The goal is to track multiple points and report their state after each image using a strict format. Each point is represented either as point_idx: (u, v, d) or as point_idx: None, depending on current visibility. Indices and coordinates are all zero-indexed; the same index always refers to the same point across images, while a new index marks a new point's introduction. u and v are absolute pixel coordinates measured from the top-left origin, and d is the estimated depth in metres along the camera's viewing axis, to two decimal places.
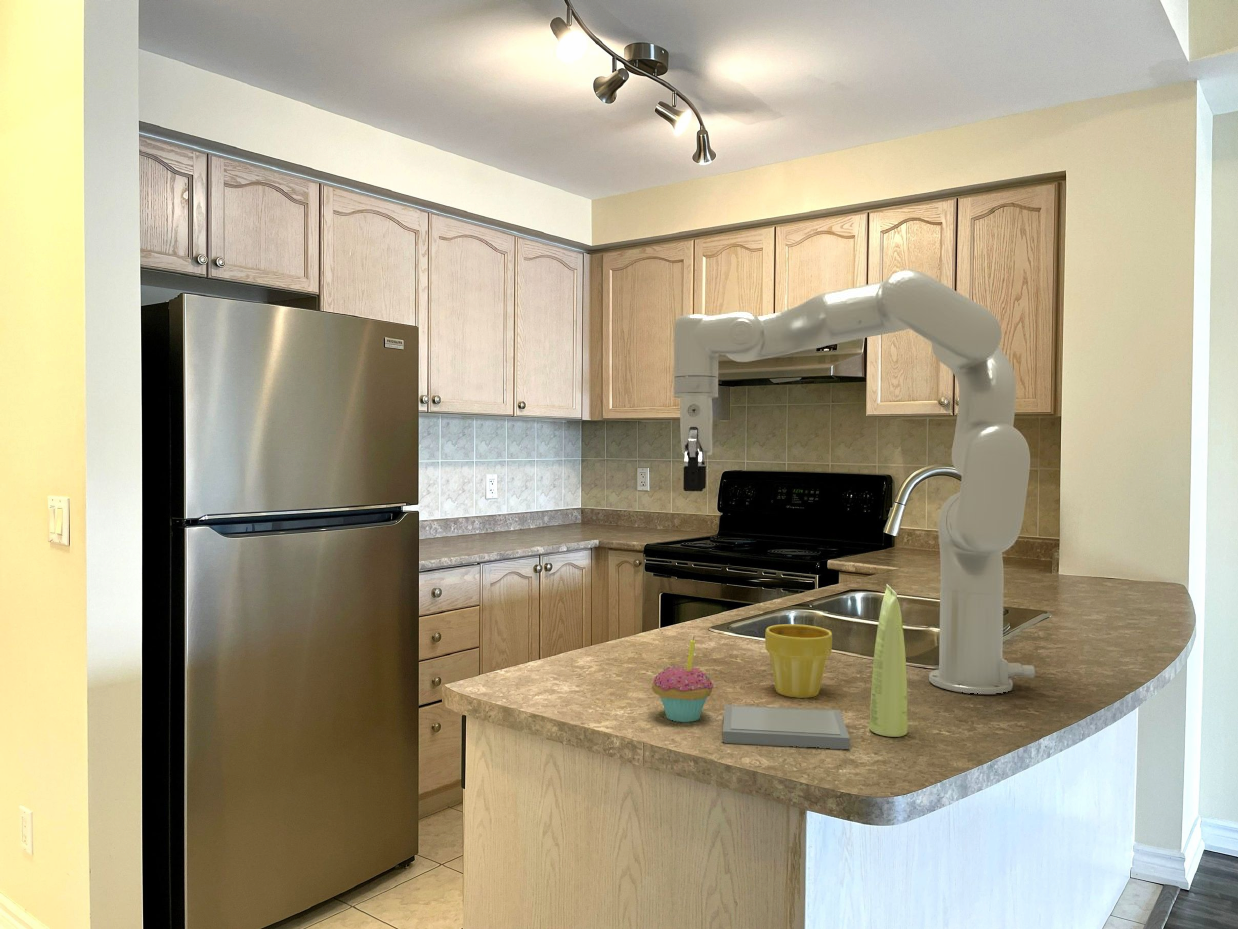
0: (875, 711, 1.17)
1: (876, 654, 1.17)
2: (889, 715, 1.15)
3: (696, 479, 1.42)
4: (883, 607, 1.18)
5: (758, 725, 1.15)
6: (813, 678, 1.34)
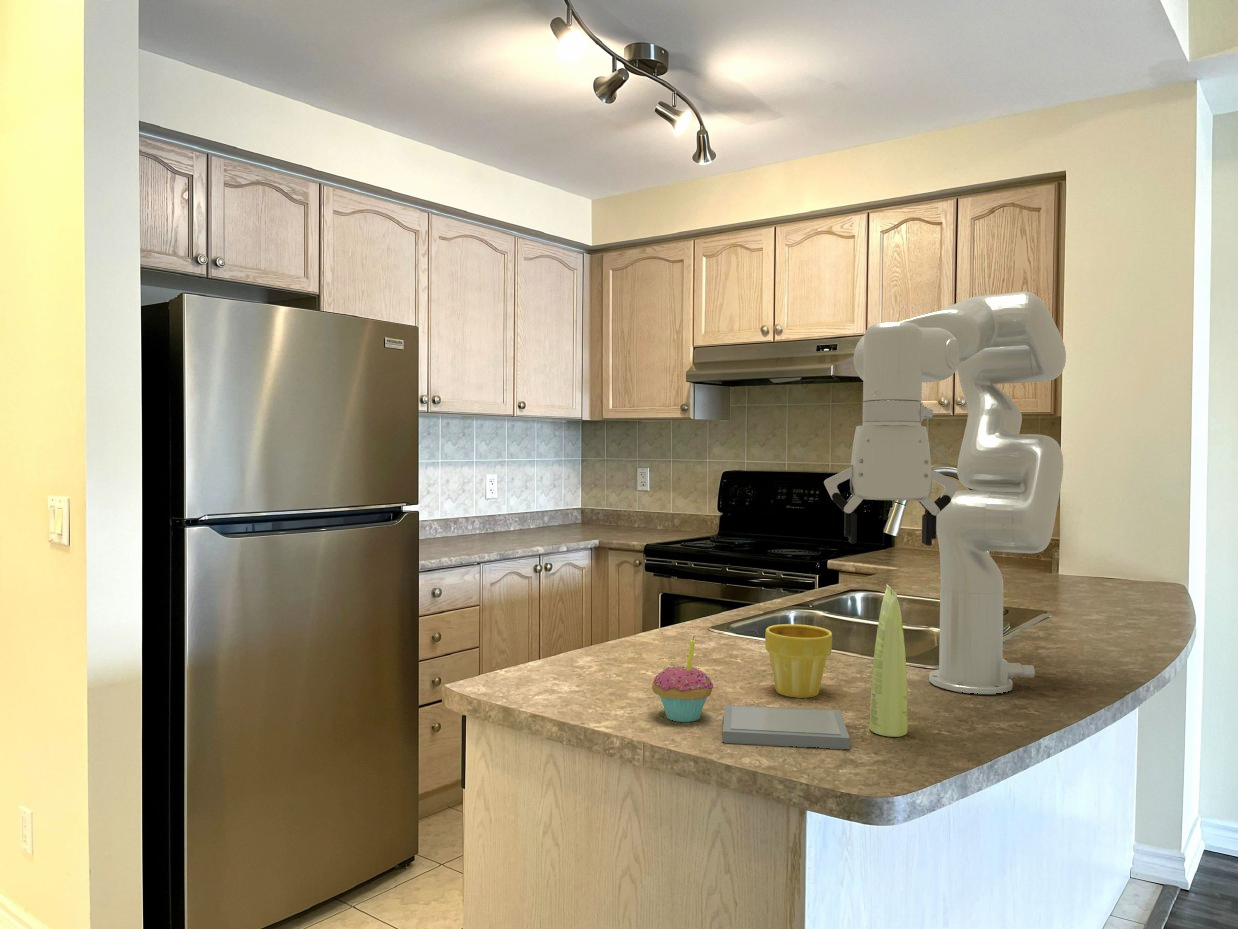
0: (875, 711, 1.17)
1: (876, 654, 1.17)
2: (889, 715, 1.15)
3: None
4: (883, 607, 1.18)
5: (758, 725, 1.15)
6: (813, 678, 1.34)
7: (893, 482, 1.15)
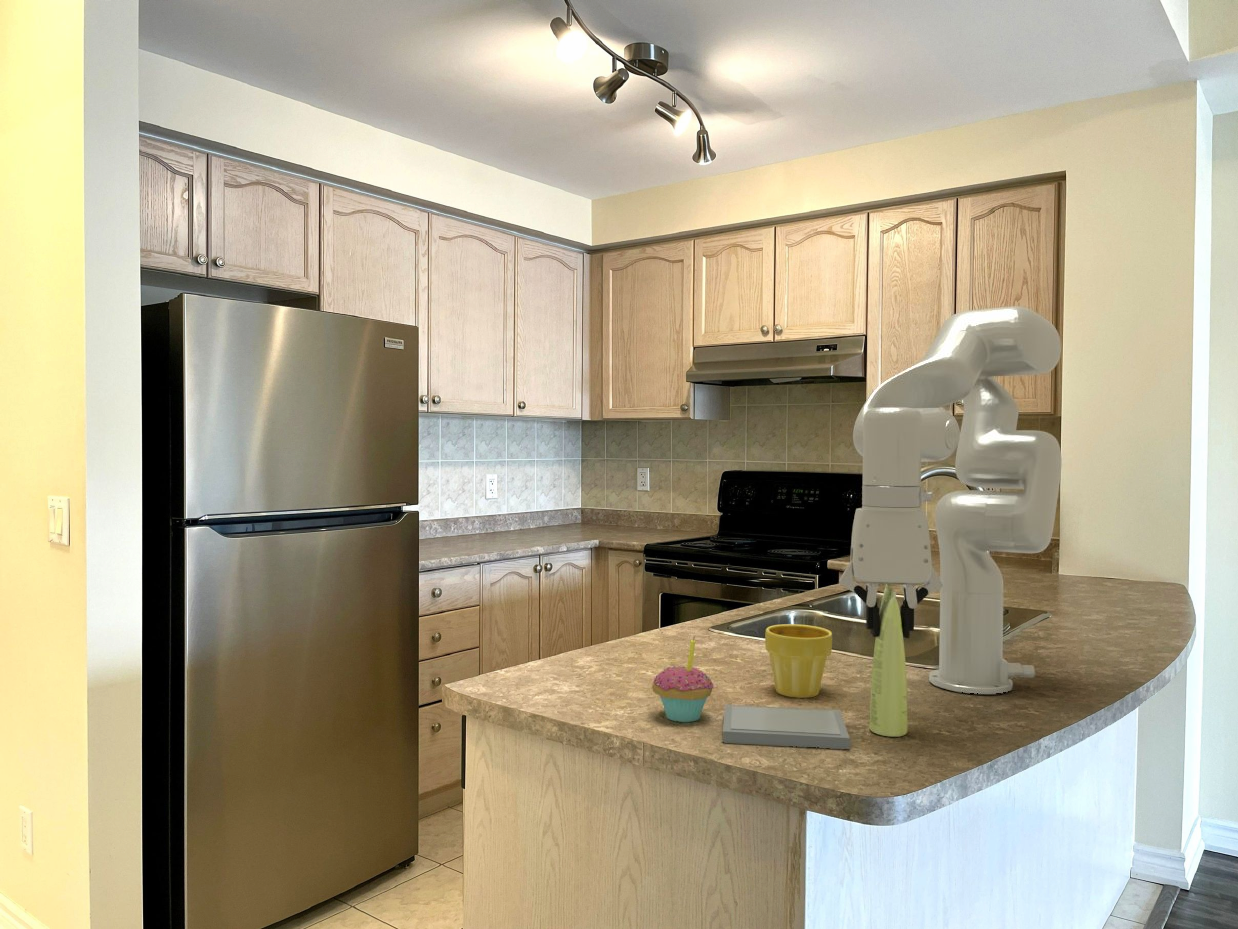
0: (875, 711, 1.17)
1: (875, 654, 1.17)
2: (888, 715, 1.15)
3: None
4: (882, 607, 1.18)
5: (758, 725, 1.15)
6: (813, 678, 1.34)
7: (893, 567, 1.15)
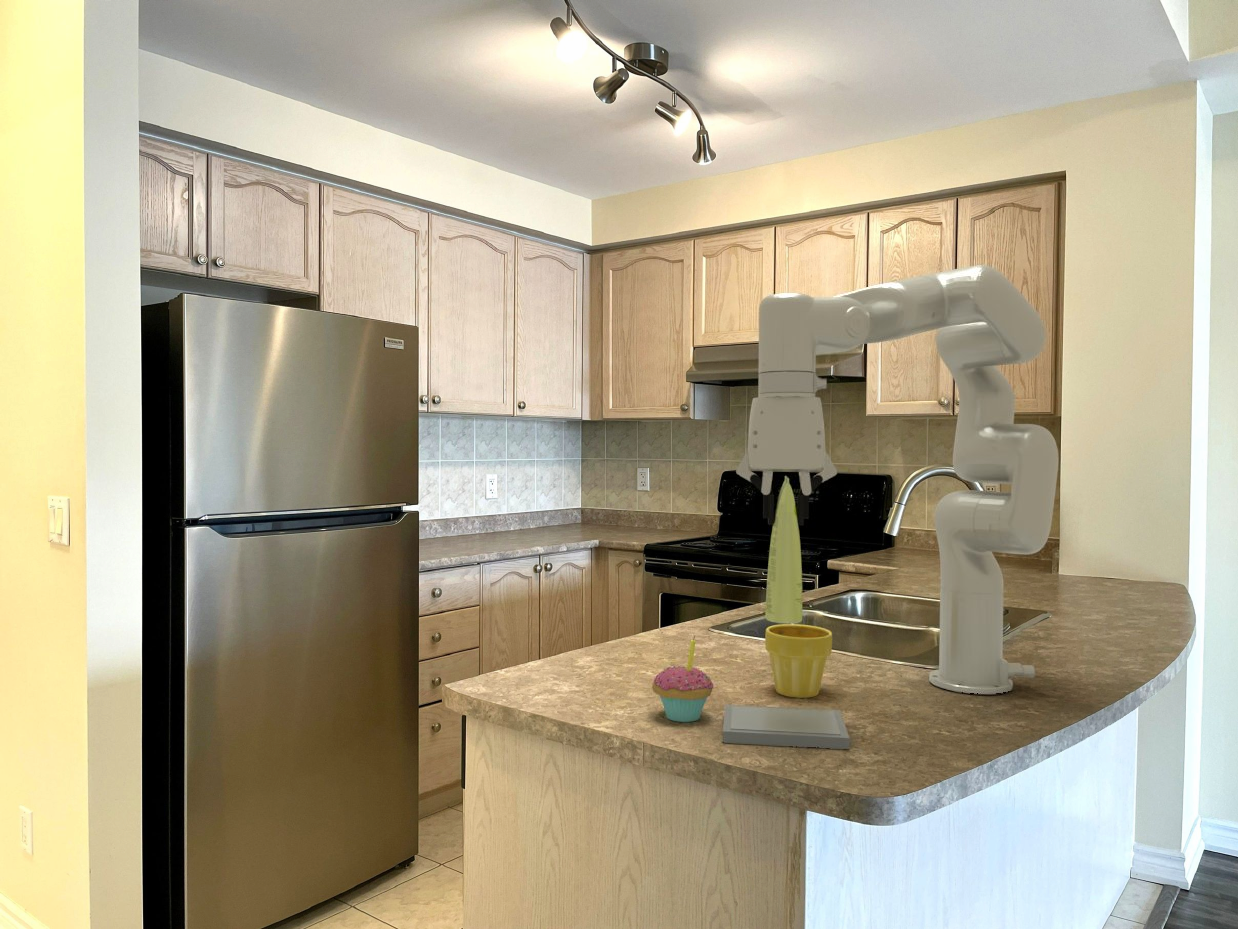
0: (770, 599, 1.16)
1: (771, 542, 1.17)
2: (782, 602, 1.15)
3: None
4: (779, 496, 1.18)
5: (758, 725, 1.15)
6: (813, 678, 1.34)
7: (787, 453, 1.15)
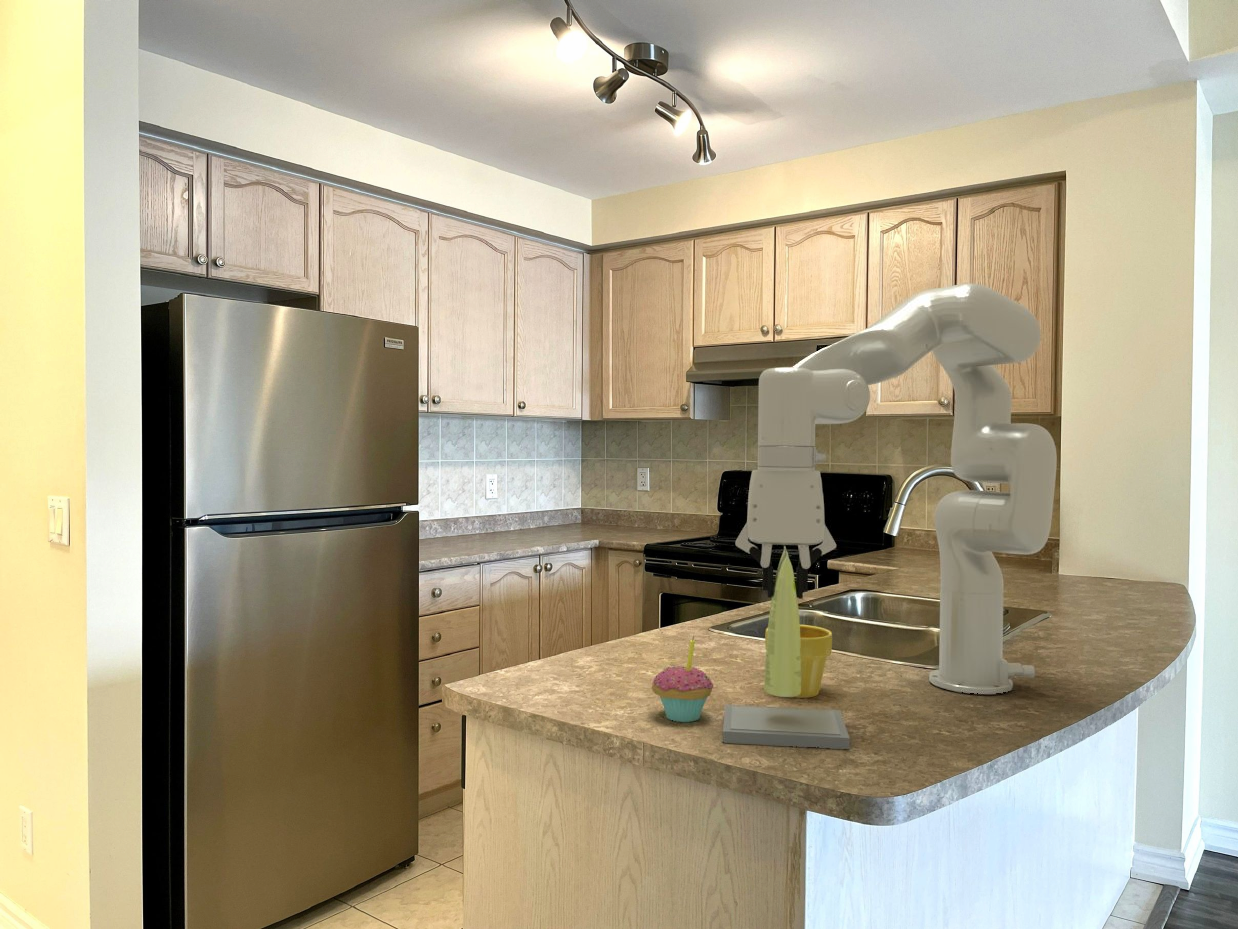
0: (768, 671, 1.17)
1: (770, 615, 1.17)
2: (781, 675, 1.15)
3: None
4: (778, 568, 1.18)
5: (758, 725, 1.15)
6: (813, 678, 1.34)
7: (786, 527, 1.15)
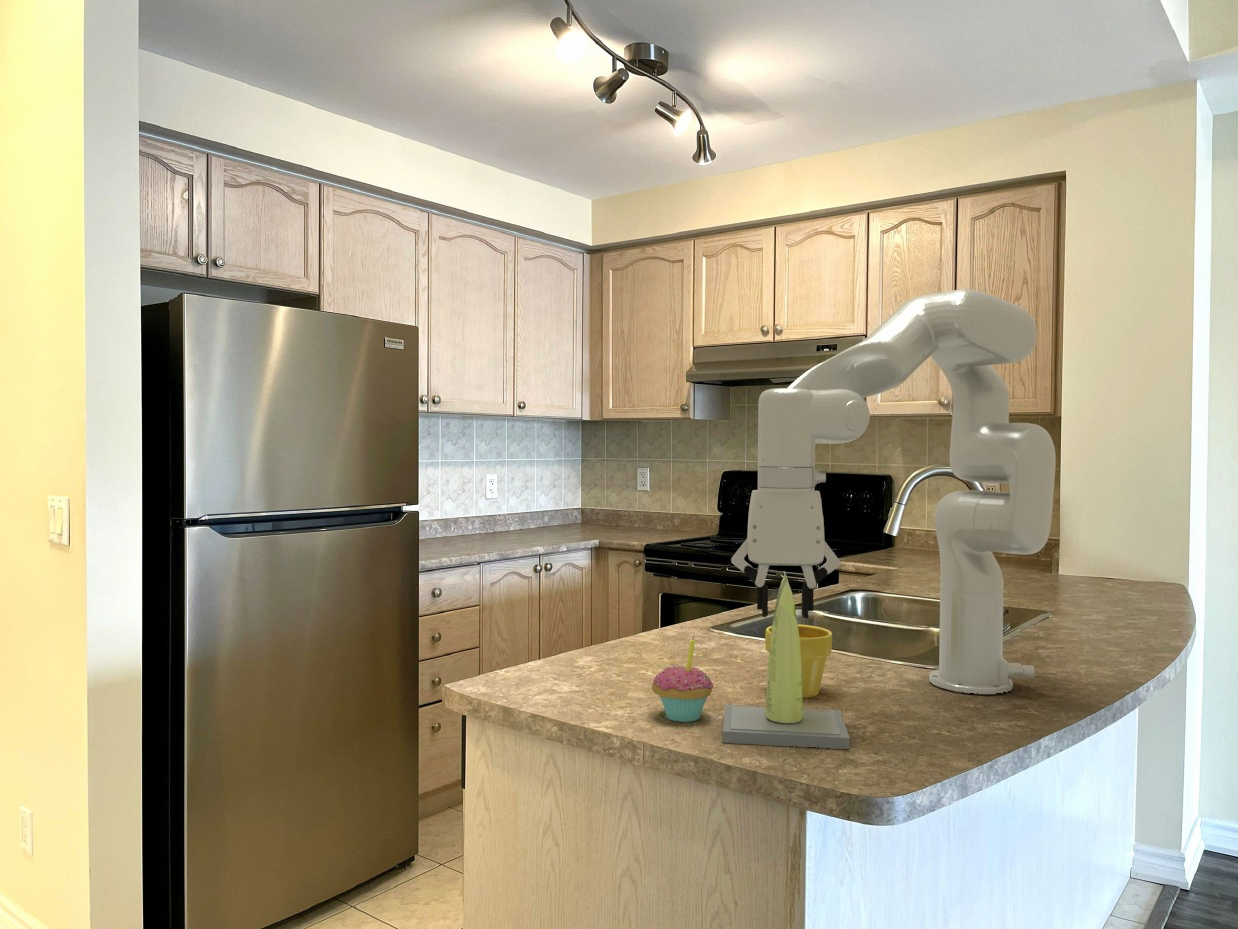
0: (770, 698, 1.17)
1: (771, 641, 1.17)
2: (782, 702, 1.16)
3: None
4: (778, 594, 1.19)
5: (758, 725, 1.15)
6: (813, 678, 1.34)
7: (786, 547, 1.15)
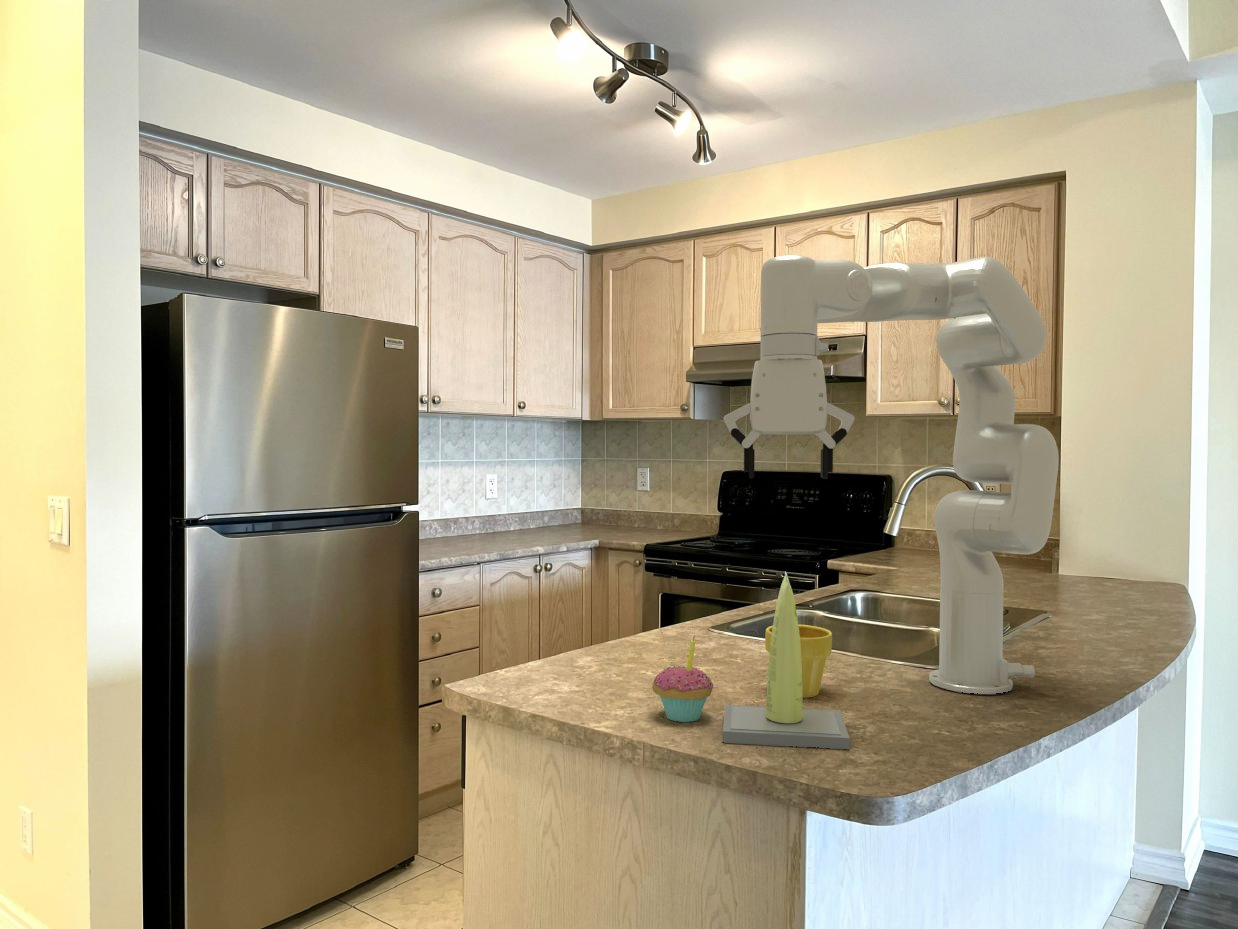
0: (770, 698, 1.17)
1: (771, 641, 1.17)
2: (782, 702, 1.16)
3: None
4: (779, 594, 1.19)
5: (758, 725, 1.15)
6: (813, 678, 1.34)
7: (789, 415, 1.15)
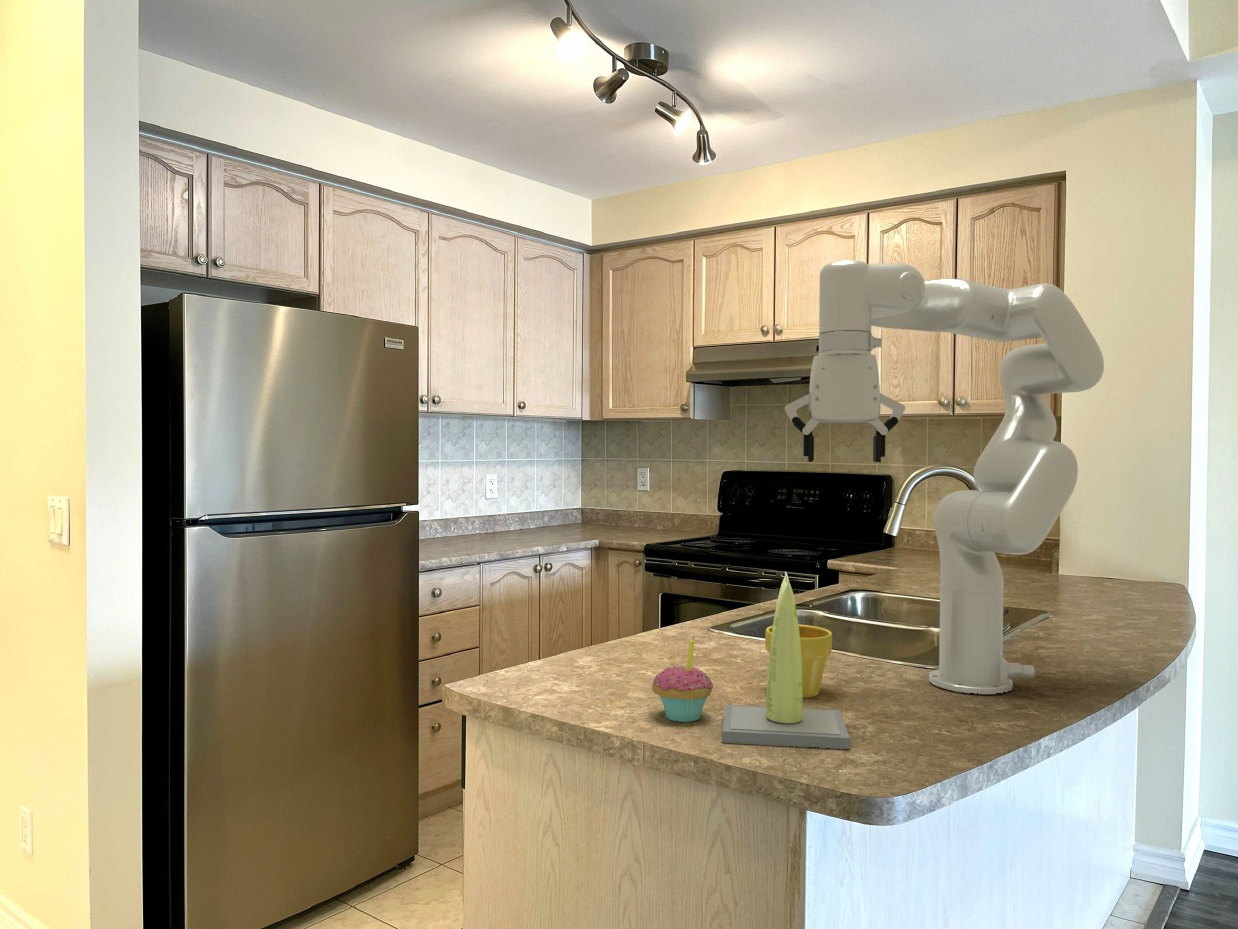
0: (770, 698, 1.17)
1: (771, 641, 1.17)
2: (782, 702, 1.16)
3: None
4: (779, 594, 1.19)
5: (758, 725, 1.15)
6: (813, 678, 1.34)
7: (846, 405, 1.27)
